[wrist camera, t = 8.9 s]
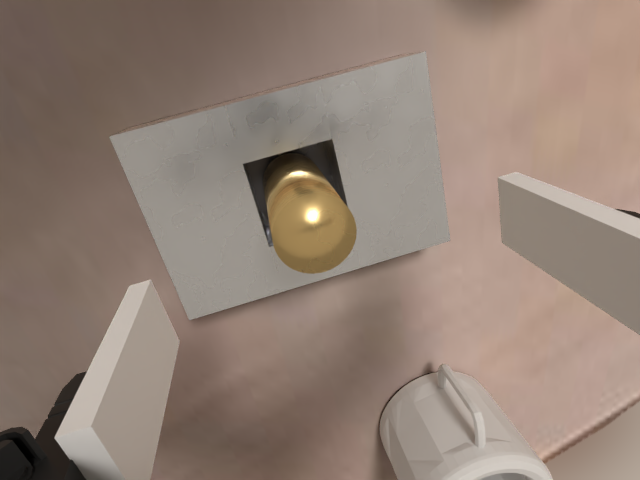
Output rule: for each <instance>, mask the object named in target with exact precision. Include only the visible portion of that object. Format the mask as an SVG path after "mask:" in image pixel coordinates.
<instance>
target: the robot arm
mask: <svg viewBox="0 0 640 480" xmlns="http://www.w3.org/2000/svg"><path fill="white" fill-rule="evenodd" d="M498 190H499V206H500V222H501V237H502V243H503V244H505V245H506V246H508V247H509V248H511V249H512V250H514V251H515V252H517V253H518V254H520V255H521V256H523V257H524V258H526V259H527V260H529V261H530V262H532V263H533V264H535V265H536V266H538V267H539V268H541V269H542V270H543V271H545V272H546V273H548V274H549V275H551V276H552V277H554V278H555V279H557V280H558V281H560V282H561V283H563V284H564V285H566V286H567V287H569V288H570V289H572V290H573V291H575V292H576V293H578V294H579V295H581V296H582V297H584V298H585V299H587V300H588V301H590V302H591V303H593V304H594V305H596V306H597V307H599V308H600V309H602V310H603V311H605V312H606V313H608V314H609V315H611V316H612V317H614V318H615V319H617V320H618V321H620V322H621V323H622V324H624V325H625V326H627V327H628V328H630V329H631V330H633V331H634V332H636V333H637V334H639V335H640V214H638V213H636V212H631V211H625V210H619V209H613V208H610V207H608V206H605V205H602V204H600V203H597V202H595V201H592V200H589V199H587V198H584V197H581V196H579V195H576V194H574V193H571V192H568V191H566V190H563V189H560V188H558V187H555V186H553V185H550V184H547V183H545V182H542V181H539V180H537V179H534V178H532V177H529V176H526V175H524V174H521V173H518V172H514V173H511V174H508V175H504V176H501V177H498ZM179 343H180V340H179V338H178V336H177V334H176V332H175V330H174V328H173V325H172V323H171V321H170V319H169V317H168V315H167V313H166V310H165V308H164V306H163V304H162V302H161V300H160V298H159V296H158V293H157V291H156V289H155V287H154V285H153V283H152V281H151V280H148V281H144V282H141V283H137V284H134V285H131V286H129V288H128V290H127V292H126V294H125V296H124V298H123V300H122V302H121V304H120V306H119V308H118V310H117V312H116V314H115V316H114V318H113V320H112V322H111V324H110V326H109V328H108V330H107V332H106V334H105V336H104V338H103V340H102V342H101V344H100V346H99V348H98V350H97V352H96V354H95V356H94V358H93V361H92V363H91V365H90V367H89V369H88V371H86V372H83V373H80V374H76V376H75V377H74V378H73V379H72V380H71V381H70V382H69V383H68V384H67V385H66V386H65V387H64V388H63V389H62V391H61V393H60V395H59V396H58V398H57V400H56V402H55V406H54V407H52V409H51V411H50V413H49V415H48V419H46V420H45V422H44V424H43V426H42V428H41V430H40V431H39V433H38V435H37V437H36V439H34V438H33V436H32V435H31V433H30V432H29V431H28V430H27V429H25V428H23V427H16V428H10V429H8V430H5V431H2V432H0V480H150V479H151V475H152V470H153V465H154V460H155V456H156V451H157V446H158V442H159V437H160V432H161V427H162V423H163V418H164V413H165V409H166V404H167V399H168V395H169V390H170V385H171V380H172V376H173V371H174V366H175V362H176V357H177V352H178V347H179Z"/></svg>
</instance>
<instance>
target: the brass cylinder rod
mask: <svg viewBox="0 0 640 480" xmlns="http://www.w3.org/2000/svg"><path fill="white" fill-rule="evenodd" d="M263 189H264V195H265V201H266V206H267V212H268V218H269V224H270V230H271V236H272V242H273V246H274V249H275V252H276V253H277V255H278V257H279V258H280V259H281V261H282V262H283V263H284V264H286V265H287V266H288V267H290V268H292V269H293V270H296V271H298V272H302V273H308V274H315V273H322V272H326V271H328V270H331V269H333V268H335V267H336V266H338V265H339V264H340V263H342V262H343V261H344V260H345V259H346V258H347V257H348V255H349V254H350V252H351V251H352V249H353V246H354V244H355V240H356V234H357V228H356V222H355V219H354V217H353V215H352V213H351V211H350V210H349V208H348V207H347V206H346V204H345V203H344V202H343V200H342V199H341V198H340V196H339V195H338V194H337V192H336V191H335V190H334V188H333V187H332V186H331V184H330V183H329V182H328V180H327V179H326V178H325V176H324V175H323V174H322V172H321V171H320V170H319V168H318V167H317V166H316V164H315V163H314V162H313V161H312V160H311V159H309V158H308V157H306V156H304V155H302V154H298V153H287V154H283V155H280V156H278V157H277V158H275V159H274V160H273V161H271V163H270V164H269V165H268V166H267V168H266V170H265V172H264V176H263Z"/></svg>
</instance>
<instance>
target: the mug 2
mask: <svg viewBox="0 0 640 480" xmlns="http://www.w3.org/2000/svg"><path fill="white" fill-rule="evenodd" d="M380 436H381V440H382V443H383V446H384V449H385V452H386V454H387V456H388V458H389V460H390V462H391V464H392V466H393V469H394V472H395V474H396V477H397V479H398V480H553V479H552V476H551V473H550V472H549V470H548V468H547V467H546V465H545V464H544V463H543V462H542V460H541V459H540V458H539V456H538V455H537V454H536V453H535V451H534V450H533V449H532V448H531V446H530V445H529V444H528V442H527V441H526V440H525V439H524V437H523V436H522V435H521V434H520V432H519V431H518V430H517V428H516V427H515V426H514V425H513V423H512V422H511V421H510V420H509V418H508V417H507V416H506V415H505V413H504V412H503V411H502V409H501V408H500V407H499V406H498V404H497V403H496V402H495V401H494V399H493V398H492V397H491V395H490V394H489V393H488V392H487V391H486V389H485V388H484V387H483V386H482V385H481V384H480V383H479V382H478V381H477V380H476V379H474V378H473V377H471V376H469V375H467V374H464V373H460V372H454V371H452V370H451V368H450V367H449V365H447V364H442V365H440V366H439V368H438V372H436V373H431V374H427V375H424V376H422V377H419V378H417V379H415V380H413V381H411V382H410V383H408V384H407V385H405V386H404V387H403V388H402V389H400V390H399V391H398V392H397V393H396V394H395V395H394V396H393V398H392V399H391V400H390V401H389V403H388V404H387V406H386V408H385V410H384V412H383V414H382V417H381V421H380Z"/></svg>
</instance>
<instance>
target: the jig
mask: <svg viewBox="0 0 640 480" xmlns="http://www.w3.org/2000/svg"><path fill="white" fill-rule="evenodd" d="M109 138H110V140H111V142H112V144H113V147H114V149H115V151H116V154H117V156H118V158H119V160H120V163H121V165H122V167H123V170H124V172H125V174H126V176H127V179H128V181H129V183H130V186H131V188H132V190H133V192H134V195H135V197H136V199H137V202H138V204H139V206H140V208H141V211H142V213H143V215H144V218H145V220H146V222H147V224H148V227H149V229H150V231H151V234H152V236H153V238H154V240H155V243H156V245H157V247H158V250H159V252H160V254H161V257H162V259H163V261H164V263H165V266H166V268H167V270H168V273H169V275H170V277H171V279H172V282H173V284H174V286H175V289H176V291H177V293H178V295H179V298H180V300H181V302H182V305H183V307H184V309H185V311H186V314H187V316H188V318H189V320H192V319H195V318H199V317H202V316H205V315H208V314H212V313H215V312H218V311H221V310H225V309H228V308H231V307H235V306H238V305H241V304H244V303H248V302H251V301H254V300H258V299H261V298H264V297H267V296H271V295H274V294H277V293H280V292H284V291H287V290H290V289H294V288H297V287H300V286H303V285H307V284H310V283H313V282H316V281H320V280H323V279H326V278H330V277H333V276H336V275H339V274H343V273H346V272H349V271H353V270H356V269H359V268H362V267H366V266H369V265H372V264H375V263H379V262H382V261H385V260H389V259H392V258H395V257H398V256H402V255H405V254H408V253H412V252H415V251H418V250H421V249H425V248H428V247H431V246H434V245H438V244H441V243H444V242H448V241H450V234H449V227H448V219H447V211H446V203H445V196H444V188H443V180H442V172H441V165H440V157H439V149H438V142H437V134H436V126H435V118H434V111H433V103H432V95H431V87H430V80H429V72H428V64H427V57H426V51H425V52H417V53H410V54H402V55H398V56H394V57H390V58H387V59H383V60H379V61H375V62H372V63H368V64H364V65H361V66H357V67H353V68H349V69H346V70H342V71H338V72H334V73H331V74H327V75H323V76H320V77H316V78H312V79H308V80H305V81H301V82H297V83H294V84H290V85H286V86H282V87H279V88H275V89H271V90H267V91H264V92H260V93H256V94H253V95H249V96H245V97H241V98H238V99H234V100H230V101H227V102H223V103H219V104H215V105H212V106H208V107H204V108H201V109H197V110H193V111H189V112H186V113H182V114H178V115H174V116H171V117H167V118H163V119H160V120H156V121H152V122H148V123H145V124H141V125H137V126H134V127H130V128H127V129H124V130H122V131H120V132H118V133H116V134H114V135H112V136H110V137H109ZM287 153H298V154H302V155H304V156H306V157H308V158H309V159H311V160H312V161H313V162H314V163H315V164H316V166H317V167H318V168H319V170H320V171H321V172H322V174H323V175H324V176H325V178H326V179H327V180H328V182H329V183H330V184H331V186H332V187H333V188H334V190H335V191H336V192H337V194H338V195H339V196H340V198H341V199H342V200H343V202H344V203H345V204H346V206H347V207H348V208H349V210H350V211H351V213H352V215H353V217H354V219H355V222H356V228H357V234H356V240H355V244H354V246H353V249H352V251H351V252H350V254H349V255H348V257H347V258H346V259H345V260H344V261H343V262H342V263H340V264H339V265H338V266H336V267H335V268H333V269H331V270H328V271H326V272H322V273H315V274H308V273H302V272H298V271H296V270H293V269H292V268H290V267H288V266H287V265H286V264H284V263H283V262H282V261H281V259H280V258H279V257H278V255H277V253H276V252H275V249H274V246H273V242H272V236H271V230H270V224H269V218H268V212H267V206H266V201H265V195H264V189H263V176H264V172H265V170H266V168H267V166H268V165H269V164H270V163H271V161H273V160H274V159H275V158H277V157H278V156H280V155H283V154H287Z"/></svg>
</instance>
